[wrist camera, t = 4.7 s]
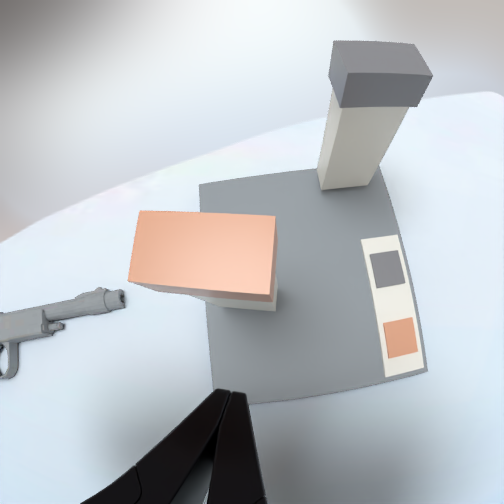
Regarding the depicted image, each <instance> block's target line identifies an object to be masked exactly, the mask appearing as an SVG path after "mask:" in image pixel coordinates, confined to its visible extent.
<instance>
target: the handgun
mask: <svg viewBox="0 0 504 504" xmlns="http://www.w3.org/2000/svg"><path fill="white" fill-rule="evenodd" d="M121 297H124V295H123V291H122V290H121V289H119V290H115V291H110V292H109V290H108V289H106V288H105V289H102V288H101V287H98V288H97V289H96V290H95V291H91V292H86V293H82V294H80V295H79V296H77V297H75V299H72V300H67V301H62V302H57V303H52V304H47V305H43V306H38V307H33V308H28V309H23V310H18V311H13V312H8V313H3V312H0V349H1V347H2V346H1V345H4V346H5V348H6V350H7V353H8V369H7V371H6V373H5V374H4V375H2V376H0V379H7V378H11V377H13V376H15V374H16V371H17V369H18V343H20V342H22V341H26V340H31V339H37V338H42V337H48V336H53V333H54V330H59V329H63V324H62V323H61V322H59V323H53V321H54V320H60V319H65V318H71V317H76V316H82V315H87V314H89V315H95V314H100V313H105V312H111V310H114V309H119V308H125V305H124V302H121V300H120V298H121ZM0 375H1V374H0Z"/></svg>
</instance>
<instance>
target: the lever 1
mask: <svg viewBox="0 0 504 504" xmlns="http://www.w3.org/2000/svg"><path fill="white" fill-rule="evenodd" d="M277 245H278V235H277V225H276V216H268V215H249V214H228V213H204V212H175V211H140V212H139V217H138V222H137V227H136V233H135V238H134V244H133V250H132V256H131V262H130V269H129V275H128V281H129V282H132V283H134V284H137V285H140V286H143V287H146V288H149V289H152V290H155V291H158V292H167V293H176V294H185V295H190V296H193V297H195V298H198V299H201V300H203V301H206V302H209V303H211V304H214V305H217V306H219V307H229V308H240V309H251V310H263V311H276V301H277V289H278V284H277V278H276V273H275V271H276V259H277Z"/></svg>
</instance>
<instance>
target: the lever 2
mask: <svg viewBox="0 0 504 504" xmlns="http://www.w3.org/2000/svg"><path fill="white" fill-rule="evenodd" d="M432 77H433V75H432V73H431V71H430V70H429V68H428V66H427V65H426V63H425V61H424V59H423V58H422V56H421V54H420V53H419V51H418V49H417V48H416V47H415V45H414V44H405V43H393V42H377V41H333V49H332V55H331V62H330V69H329V78H330V81H331V84H332V87H333V89H332V95H331V101H330V106H329V111H328V116H327V122H326V127H325V132H324V137H323V142H322V147H321V152H320V157H319V162H318V166H317V173H318V177H319V182H320V187H321V190H327V189H336V188H345V187H355V186H365V185H368V184H369V182H370V180H371V178H372V177H373V175H374V173H375V171H376V169H377V168H378V166H379V164H380V162H381V160H382V158H383V156H384V155H385V153H386V151H387V149H388V147H389V145H390V143H391V141H392V140H393V138H394V136H395V134H396V132H397V130H398V128H399V126H400V124H401V122H402V120H403V118H404V116H405V114H406V112H407V111H408V109H409V107H417V106H418V104H419V102H420V100H421V98H422V96H423V94H424V93H425V90H426V89H427V87H428V85H429V83H430V81H431V79H432Z"/></svg>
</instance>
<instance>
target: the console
mask: <svg viewBox="0 0 504 504" xmlns="http://www.w3.org/2000/svg"><path fill="white" fill-rule="evenodd" d="M199 196H200V212H204V213H228V214H249V215H268V216H276V225H277V235H278V245H277V259H276V271H275V273H276V278H277V284H278V289H277V301H276V311H263V310H251V309H240V308H229V307H219V306H217V305H214V304H211V303H209V302H206V301H205V302H206V315H207V328H208V339H209V350H210V361H211V371H212V381H213V391H214V390H215V389H217V388H221V389H226V390H230V391H231V392H232V391H238V392H244V393H246V395H247V400H248V404H256V403H266V402H275V401H284V400H292V399H299V398H306V397H312V396H319V395H325V394H331V393H336V392H342V391H347V390H352V389H357V388H362V387H367V386H372V385H376V384H381V383H385V382H389V381H393V380H397V379H401V378H405V377H409V376H413V375H417V374H420V373H424V372H427V371H428V369H427V362H426V354H425V348H424V341H423V335H422V329H421V323H420V317H419V312H418V307H417V302H416V297H415V292H414V287H413V283H412V278H411V274H410V270H409V265H408V261H407V257H406V253H405V249H404V246H403V242H402V238H401V234H400V231H399V227H398V224H397V220H396V217H395V213H394V210H393V207H392V203H391V200H390V197H389V194H388V191H387V188H386V185H385V182H384V179H383V176H382V173H381V170H380V167H379V166H378V168H377V169H376V171H375V173H374V175H373V177H372V178H371V180H370V182H369V184H368V185H365V186H355V187H345V188H336V189H327V190H321V187H320V182H319V177H318V173H317V169H307V170H298V171H290V172H282V173H274V174H266V175H259V176H251V177H244V178H237V179H231V180H224V181H218V182H211V183H205V184H199Z"/></svg>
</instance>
